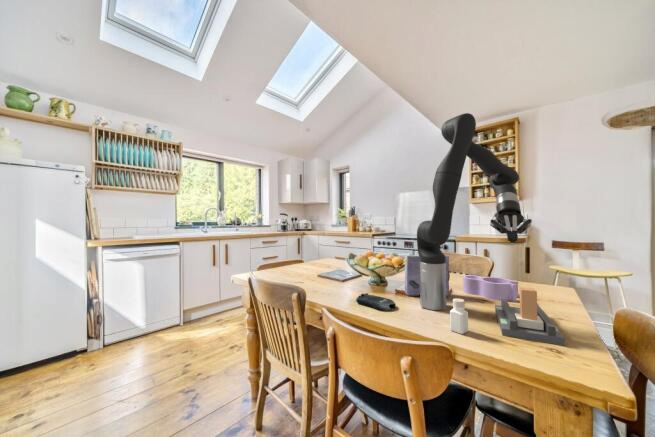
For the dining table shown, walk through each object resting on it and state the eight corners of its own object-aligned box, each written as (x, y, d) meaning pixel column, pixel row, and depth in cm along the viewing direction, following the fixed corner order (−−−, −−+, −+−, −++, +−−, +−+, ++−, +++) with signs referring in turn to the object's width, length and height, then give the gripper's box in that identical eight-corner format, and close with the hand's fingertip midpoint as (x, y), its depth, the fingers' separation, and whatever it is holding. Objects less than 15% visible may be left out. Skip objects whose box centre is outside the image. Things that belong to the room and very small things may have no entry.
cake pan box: (448, 293, 117) (447, 254, 117) (452, 296, 112) (451, 255, 112) (404, 292, 119) (403, 254, 118) (406, 296, 114) (406, 256, 113)
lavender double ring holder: (459, 294, 116) (459, 278, 115) (467, 287, 125) (467, 273, 125) (514, 303, 102) (514, 286, 102) (519, 296, 111) (519, 280, 111)
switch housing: (494, 310, 95) (494, 297, 95) (543, 316, 89) (543, 303, 89) (502, 335, 76) (502, 319, 76) (565, 345, 69) (564, 328, 69)
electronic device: (355, 309, 105) (388, 312, 95) (354, 294, 106) (386, 296, 96) (368, 305, 111) (400, 308, 101) (367, 292, 112) (399, 294, 102)
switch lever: (514, 320, 81) (514, 285, 80) (539, 323, 78) (538, 288, 78) (517, 326, 76) (517, 290, 76) (543, 330, 73) (543, 292, 73)
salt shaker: (462, 335, 77) (462, 303, 76) (449, 330, 80) (448, 299, 80) (469, 331, 79) (468, 300, 79) (456, 327, 82) (455, 297, 82)
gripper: (487, 200, 101) (491, 233, 90) (530, 198, 95) (539, 234, 84) (487, 213, 106) (490, 247, 95) (527, 212, 100) (535, 248, 89)
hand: (513, 241), depth 90 cm, fingers closed
